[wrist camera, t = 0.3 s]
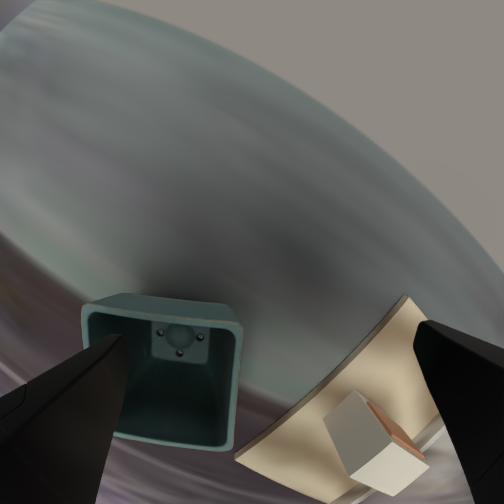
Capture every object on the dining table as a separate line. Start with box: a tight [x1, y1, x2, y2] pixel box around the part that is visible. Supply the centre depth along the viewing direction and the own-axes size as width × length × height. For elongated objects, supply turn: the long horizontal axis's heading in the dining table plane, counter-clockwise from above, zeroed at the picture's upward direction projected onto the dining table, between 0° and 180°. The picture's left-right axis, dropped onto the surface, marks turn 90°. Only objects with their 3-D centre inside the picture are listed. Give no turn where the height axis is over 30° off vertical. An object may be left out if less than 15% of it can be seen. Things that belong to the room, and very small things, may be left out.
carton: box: [322, 389, 430, 496], centre depth 20 cm, size 4×7×8 cm, turn 47°
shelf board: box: [235, 295, 446, 504], centre depth 24 cm, size 22×16×3 cm
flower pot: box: [81, 293, 244, 452], centre depth 19 cm, size 9×9×9 cm
